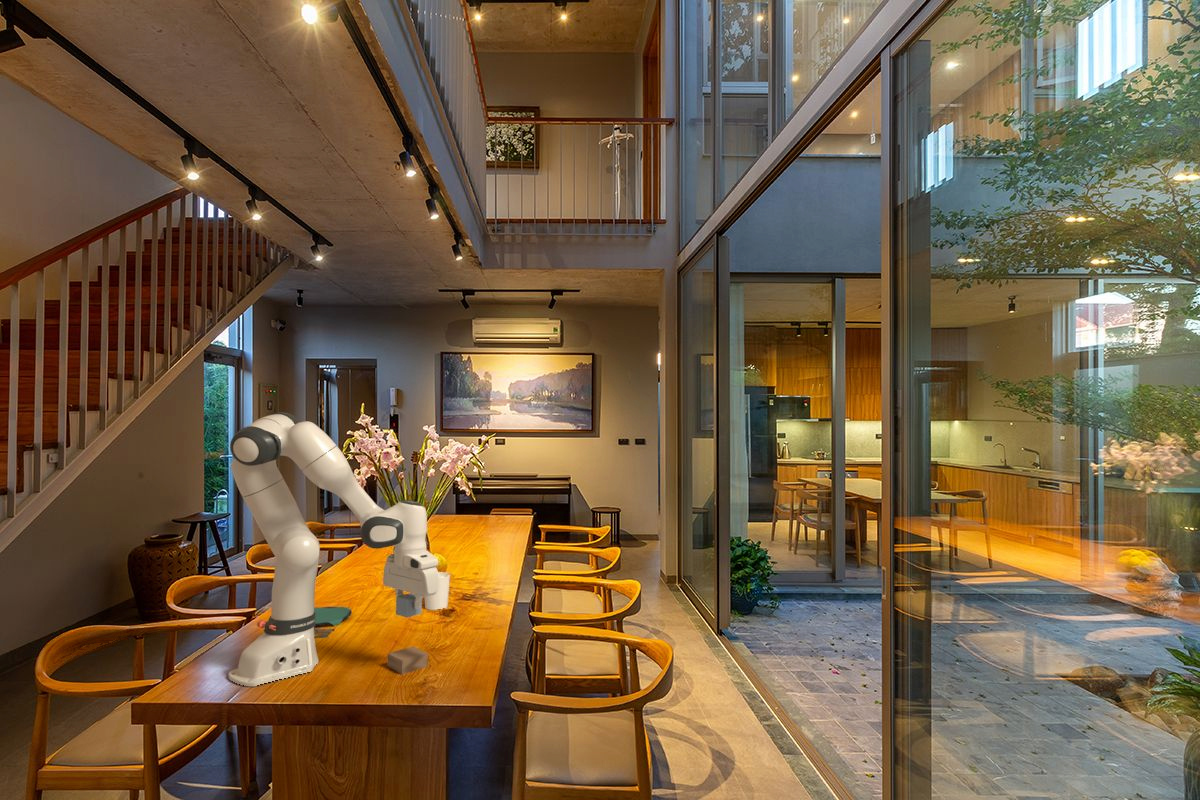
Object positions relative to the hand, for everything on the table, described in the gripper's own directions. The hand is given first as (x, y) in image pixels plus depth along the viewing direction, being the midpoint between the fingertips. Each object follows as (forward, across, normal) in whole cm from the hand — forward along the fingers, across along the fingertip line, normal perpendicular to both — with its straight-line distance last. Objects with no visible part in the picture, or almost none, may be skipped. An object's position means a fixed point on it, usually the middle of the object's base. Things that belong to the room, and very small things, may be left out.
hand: (408, 606), depth 178 cm
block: (+2, 0, 0) cm, 2 cm away
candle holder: (+17, -39, +44) cm, 61 cm away
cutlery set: (+18, -56, +6) cm, 59 cm away
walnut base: (+17, 0, 0) cm, 17 cm away
